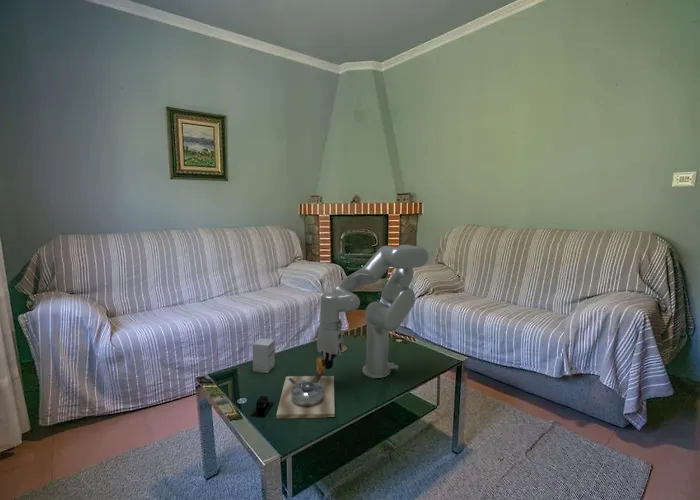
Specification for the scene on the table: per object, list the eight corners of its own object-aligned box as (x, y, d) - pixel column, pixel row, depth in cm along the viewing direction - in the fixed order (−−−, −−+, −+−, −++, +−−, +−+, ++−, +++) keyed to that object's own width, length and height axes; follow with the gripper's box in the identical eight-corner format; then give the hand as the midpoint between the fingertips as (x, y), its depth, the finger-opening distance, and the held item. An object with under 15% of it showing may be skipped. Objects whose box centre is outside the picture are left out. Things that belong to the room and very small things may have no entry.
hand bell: (346, 353, 170) (347, 322, 168) (330, 352, 170) (330, 321, 168) (347, 346, 178) (347, 316, 176) (331, 345, 179) (331, 316, 176)
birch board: (333, 379, 145) (333, 375, 144) (334, 417, 119) (334, 413, 119) (286, 379, 143) (286, 375, 143) (276, 418, 118) (276, 414, 117)
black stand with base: (265, 422, 116) (264, 410, 116) (244, 420, 117) (244, 407, 117) (277, 401, 129) (277, 390, 128) (259, 399, 130) (259, 388, 129)
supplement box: (268, 373, 148) (267, 345, 147) (252, 371, 150) (251, 344, 148) (275, 365, 155) (275, 339, 154) (260, 363, 157) (259, 337, 155)
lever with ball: (316, 409, 121) (317, 385, 119) (285, 403, 124) (285, 380, 123) (335, 379, 141) (336, 359, 140) (308, 374, 145) (308, 355, 143)
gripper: (350, 325, 136) (349, 368, 138) (319, 318, 143) (318, 359, 145) (340, 331, 129) (339, 376, 132) (308, 323, 136) (308, 366, 139)
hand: (328, 367), depth 138 cm, fingers closed
